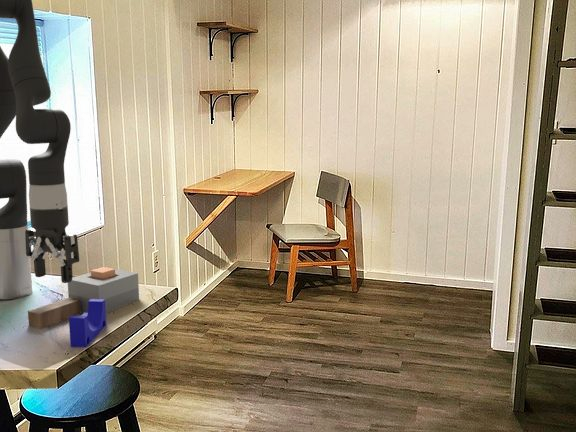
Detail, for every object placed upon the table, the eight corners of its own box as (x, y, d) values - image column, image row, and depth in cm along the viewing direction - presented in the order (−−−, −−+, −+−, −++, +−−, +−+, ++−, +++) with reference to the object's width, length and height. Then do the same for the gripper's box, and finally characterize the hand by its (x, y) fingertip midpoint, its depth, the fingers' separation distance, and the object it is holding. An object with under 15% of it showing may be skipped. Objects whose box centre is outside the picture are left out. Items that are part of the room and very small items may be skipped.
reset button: (91, 284, 147) (90, 270, 146) (104, 280, 150) (103, 266, 149) (103, 286, 145) (102, 272, 144) (115, 282, 148) (115, 269, 147)
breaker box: (69, 308, 146) (67, 279, 144) (109, 295, 156) (107, 267, 155) (100, 316, 141) (98, 285, 139) (139, 302, 151) (137, 273, 149)
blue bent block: (85, 326, 135) (83, 298, 134) (106, 326, 135) (104, 299, 134) (63, 347, 123) (61, 317, 122) (86, 348, 123) (84, 318, 122)
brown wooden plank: (27, 311, 134) (68, 297, 144) (28, 327, 135) (69, 312, 144) (39, 313, 132) (79, 299, 142) (40, 330, 133) (80, 314, 142)
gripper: (11, 204, 135) (17, 278, 138) (56, 210, 128) (61, 288, 131) (41, 199, 142) (46, 270, 144) (86, 205, 134) (90, 280, 137)
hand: (53, 279), depth 138 cm, fingers open, 8 cm apart
